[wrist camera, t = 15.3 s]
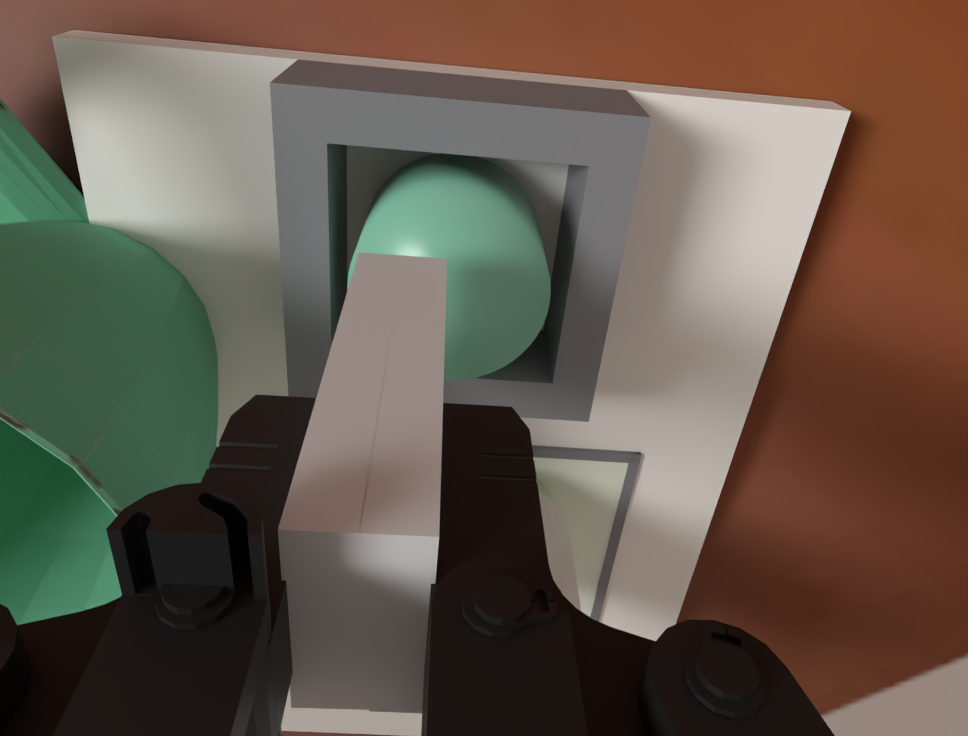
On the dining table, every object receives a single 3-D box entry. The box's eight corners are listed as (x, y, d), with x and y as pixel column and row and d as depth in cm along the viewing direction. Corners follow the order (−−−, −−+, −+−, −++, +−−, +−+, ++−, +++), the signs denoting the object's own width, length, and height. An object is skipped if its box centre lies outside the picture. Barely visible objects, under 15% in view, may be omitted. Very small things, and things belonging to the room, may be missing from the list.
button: (365, 310, 18) (347, 373, 15) (366, 144, 16) (346, 187, 13) (528, 322, 18) (537, 386, 16) (550, 160, 16) (564, 205, 14)
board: (199, 702, 28) (167, 795, 25) (74, 30, 16) (-18, 56, 13) (629, 720, 29) (647, 811, 26) (832, 101, 17) (908, 141, 14)
